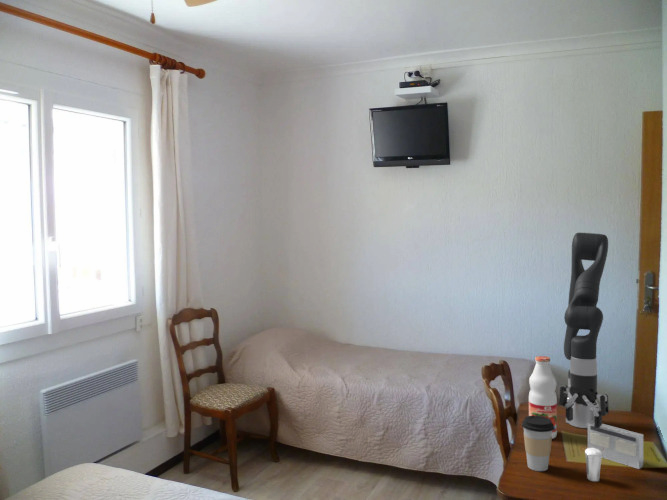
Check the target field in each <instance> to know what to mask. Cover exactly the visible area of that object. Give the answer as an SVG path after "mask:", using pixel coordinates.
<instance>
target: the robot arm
mask: <svg viewBox="0 0 667 500" xmlns="http://www.w3.org/2000/svg"><path fill="white" fill-rule="evenodd" d="M608 252H609V238H608V237H607V235H606V234H602V233H593V232H592V233H591V232H576V233H575V234H574V235H573V238H572V242H571V270H570V271H571V273H570V274H571V275H570V277H571V278H570V283H569V292H568V302H567V303H568V304H567V307H566V310H565V313H564V323H565V325H566V329H565V335H564V336H565V337H564V342H563V355H564V357H565V358H566V360H569V361H570V362H569V370H568V372H567V373H568V374H567V384H566V385H565V384H564V385H563V386H562V385H561V386H560V388H559V402H558V403H559V405H560V406H563V407H564V408H565V423H567V424H569V425H570V426H572V427H576V428H580V429H588V423H589V422H591V421H594V427H595V428H597V429H598V428H600V426H601V425H602V424H603V417H605V416H607V415H608V414H609V413H610V410H609V407H610V406H609V396H608V394H607V393H604V394H600V393H598V391H597V390H598V362H597V343H598V337H599V333H600V331H601V327H602V325H603V320H604V314H603V311H602V310H601V309H600V308H599V307H597V304H598V302H599V294H600V286H601V279H602V276H603V272H604V269H605V265H606V261H607V257H608ZM583 261H591V262H592V261H593V263H592V264H591V265H590V266H589V267H587V269H585V267H584V264H583ZM580 330H585V331H589V332H588V333H587V334H586V335H585V334H584V335H578V333H579V331H580ZM597 399H598V400H597ZM598 402H599V403H598Z"/></svg>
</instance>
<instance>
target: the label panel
mask: <svg viewBox="0 0 667 500" xmlns="http://www.w3.org/2000/svg"><path fill="white" fill-rule="evenodd" d="M604 446H605V448H604ZM587 448H596V449H598V450H600V451H601V452H602V450H603V448H604V450H603V452H602V458H601V459H606V460H609V461H612V462H614V463H619V464H622V465H625V466H627V467H628V466H629V467H631V468H634V469H638V470H640V469H642V468H643V467H644V434H643V433H639V432H634V431H632V430H631V431H630V430H627V429H624V428H619V427H617V426H613V425H609V424H605V423H602V425H601V426H600V428H598V429H597V428H595V427H594V421H591V422H589V423H588V428H587Z"/></svg>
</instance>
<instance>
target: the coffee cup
mask: <svg viewBox="0 0 667 500" xmlns="http://www.w3.org/2000/svg"><path fill="white" fill-rule="evenodd" d="M521 427H522V428H523V438H524V439H523V441H524V448H525V453H526V455H525V456H526V462H527V464H526V465H527V467H528V468H529V469H530V470H532V471H535V472H545V471H547V470H549V462H550V455H551V451H552V449H551V448H552V440H553V439H552V430H553V429H554V425H553V423H552V422H551V420H550V419H549V418H546V417H543V416H529V415H528V416H525V417H524V419H523V420H522V423H521Z"/></svg>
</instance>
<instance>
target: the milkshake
mask: <svg viewBox="0 0 667 500" xmlns="http://www.w3.org/2000/svg"><path fill="white" fill-rule="evenodd" d="M604 448H605V446H604ZM604 448H603V450H604ZM603 450H602V452H603ZM602 452H601V451H600V450H598V449H596V448H588V447H587V448H585V450H584V455H585V463H586V466H585V467H586V475H587V476H586V478H587V479H588V481H591V482H600V476H601V474H600V473H601V464H602V459H603V458H602Z"/></svg>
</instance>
